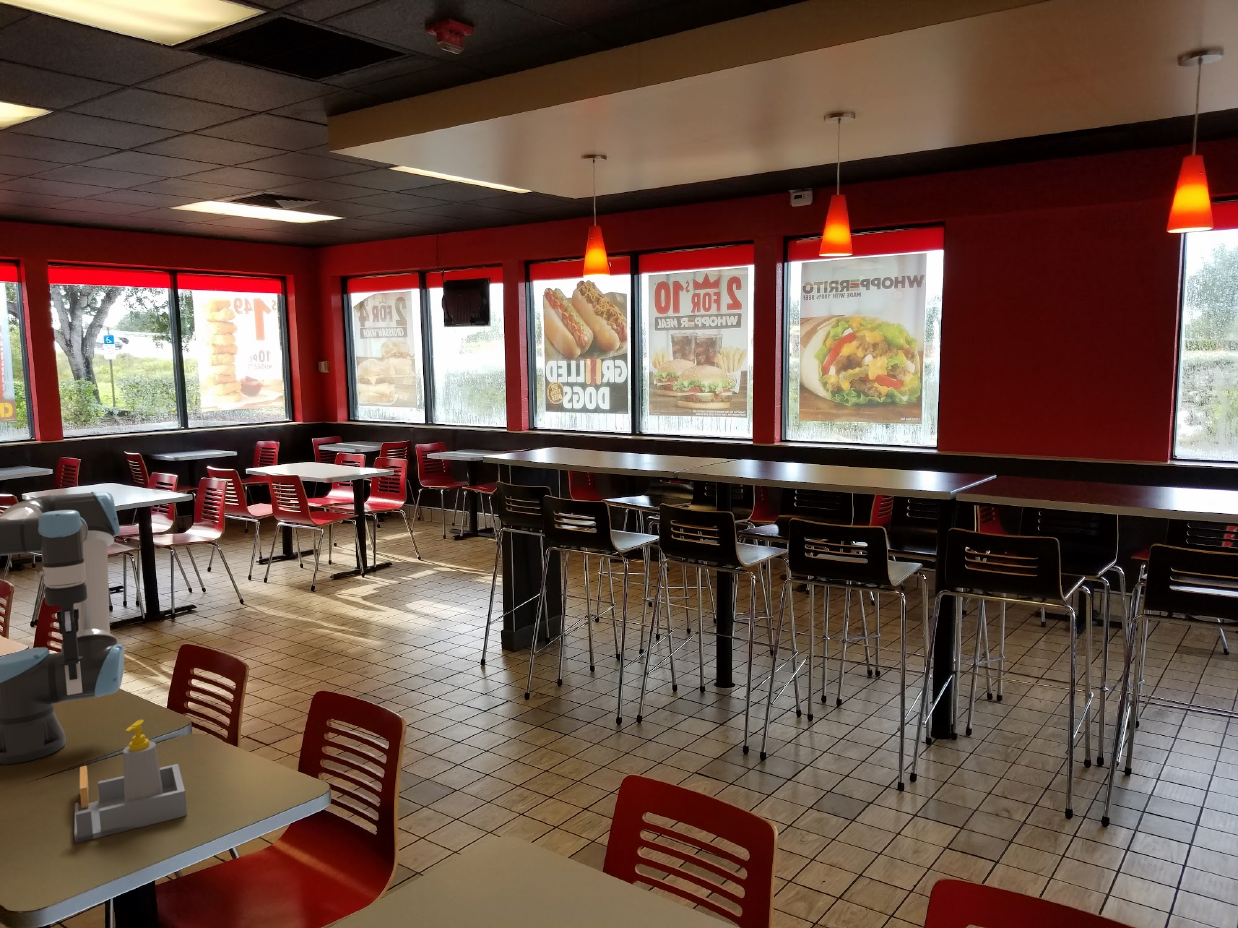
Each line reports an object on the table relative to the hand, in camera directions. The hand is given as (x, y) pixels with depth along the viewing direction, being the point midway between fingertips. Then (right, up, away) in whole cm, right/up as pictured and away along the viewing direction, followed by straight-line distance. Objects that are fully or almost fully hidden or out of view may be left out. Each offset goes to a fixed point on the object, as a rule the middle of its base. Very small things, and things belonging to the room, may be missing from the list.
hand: (74, 692), depth 187 cm
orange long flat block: (+7, -19, -8) cm, 22 cm away
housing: (+19, -20, -13) cm, 31 cm away
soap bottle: (+23, -20, -15) cm, 34 cm away
